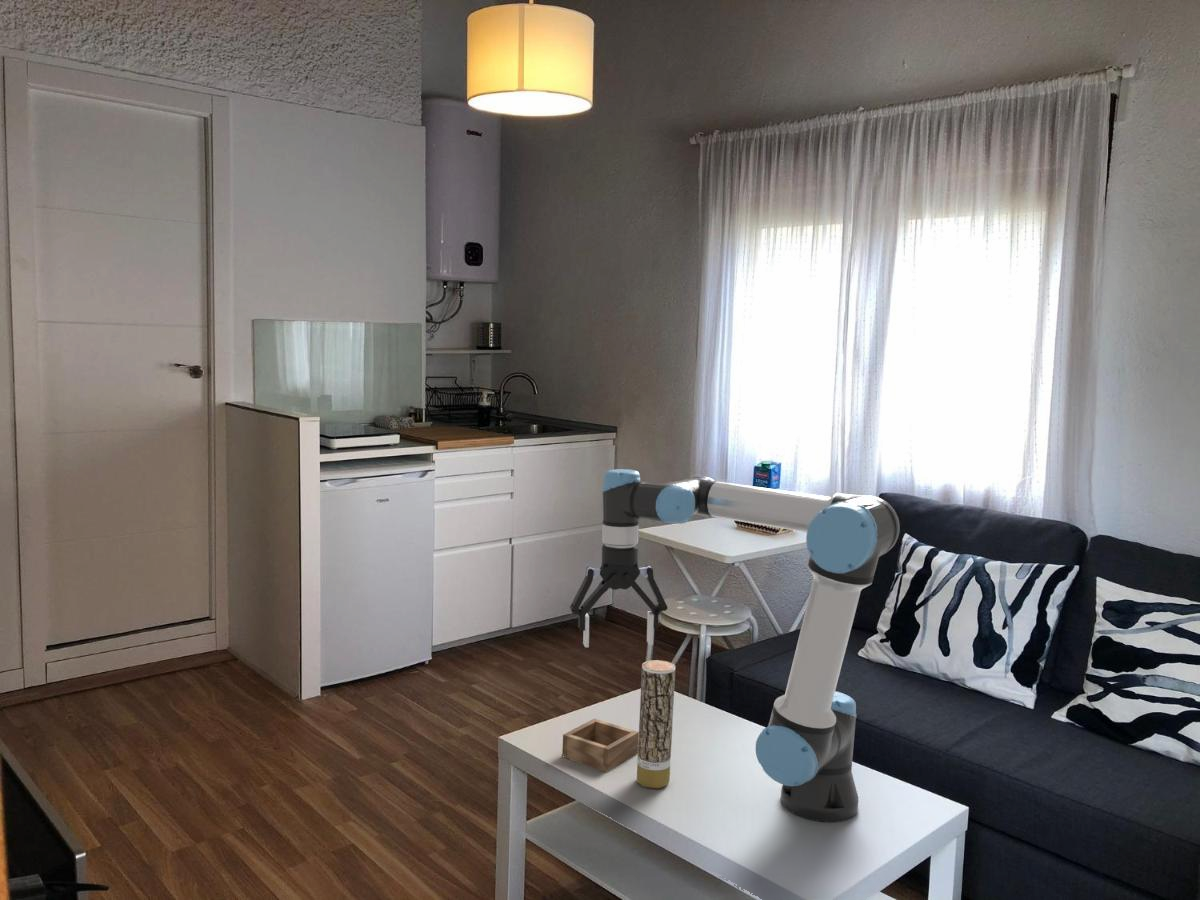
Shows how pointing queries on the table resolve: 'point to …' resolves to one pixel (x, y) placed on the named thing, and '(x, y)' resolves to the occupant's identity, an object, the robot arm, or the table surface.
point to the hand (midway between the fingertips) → (618, 644)
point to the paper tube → (655, 723)
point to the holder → (600, 744)
